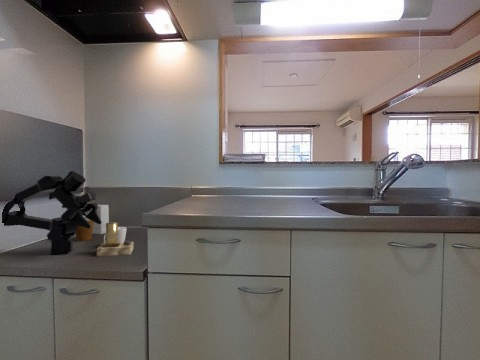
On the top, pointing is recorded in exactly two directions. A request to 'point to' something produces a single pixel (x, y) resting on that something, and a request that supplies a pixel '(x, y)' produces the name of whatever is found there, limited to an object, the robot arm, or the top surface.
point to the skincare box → (104, 217)
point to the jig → (116, 249)
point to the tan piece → (112, 234)
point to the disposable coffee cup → (84, 231)
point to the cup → (120, 234)
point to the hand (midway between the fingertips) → (95, 225)
